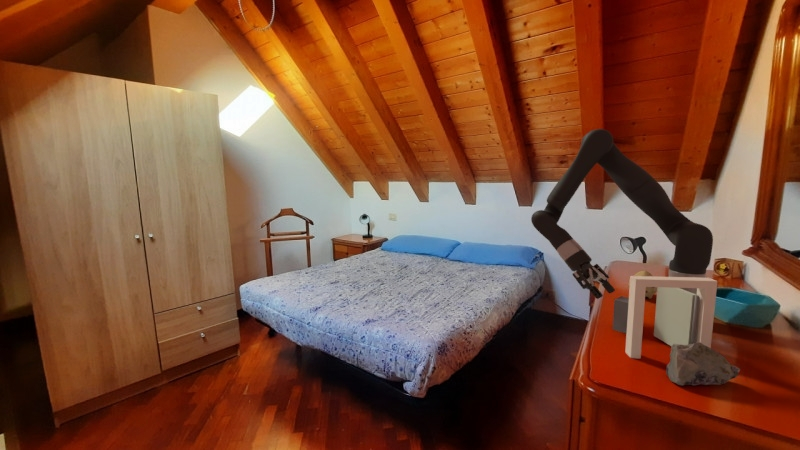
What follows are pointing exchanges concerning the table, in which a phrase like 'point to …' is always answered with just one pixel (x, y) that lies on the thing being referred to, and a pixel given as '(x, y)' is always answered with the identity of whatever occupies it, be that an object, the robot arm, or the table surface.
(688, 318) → the door
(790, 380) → the table surface
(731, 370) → the mineral rock
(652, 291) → the toy pig
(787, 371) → the table surface
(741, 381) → the table surface
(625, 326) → the block
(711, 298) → the door frame
